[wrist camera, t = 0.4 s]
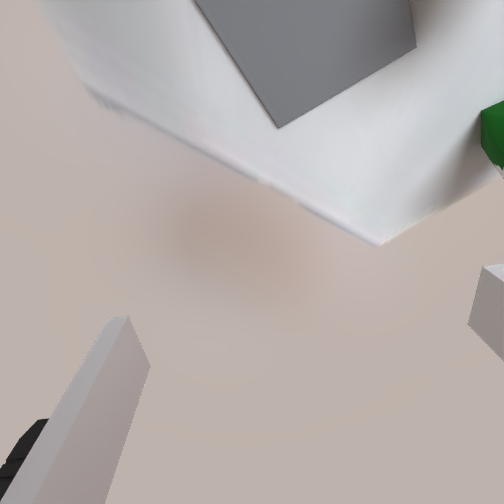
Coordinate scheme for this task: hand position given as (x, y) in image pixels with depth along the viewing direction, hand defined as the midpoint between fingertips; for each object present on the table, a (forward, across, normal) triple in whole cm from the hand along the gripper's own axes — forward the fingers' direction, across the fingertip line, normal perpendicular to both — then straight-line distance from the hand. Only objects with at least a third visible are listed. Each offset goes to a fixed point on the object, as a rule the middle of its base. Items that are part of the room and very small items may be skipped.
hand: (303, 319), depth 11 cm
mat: (+31, +7, +14) cm, 35 cm away
